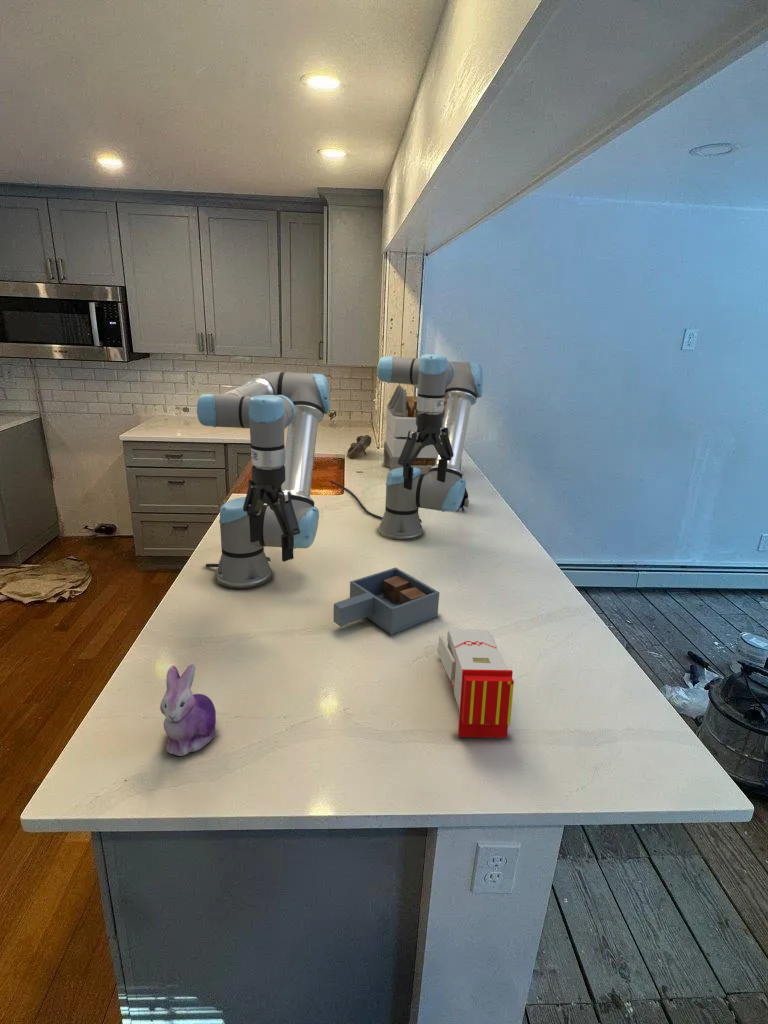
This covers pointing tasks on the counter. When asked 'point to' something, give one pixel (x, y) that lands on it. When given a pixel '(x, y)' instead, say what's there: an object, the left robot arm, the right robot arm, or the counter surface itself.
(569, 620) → the counter surface
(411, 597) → the walnut block
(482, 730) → the toy
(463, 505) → the figurine character
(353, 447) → the fossil
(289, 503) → the left robot arm
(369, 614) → the tray
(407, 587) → the walnut block
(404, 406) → the white crate
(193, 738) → the figurine
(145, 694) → the counter surface
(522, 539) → the counter surface
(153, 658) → the counter surface
